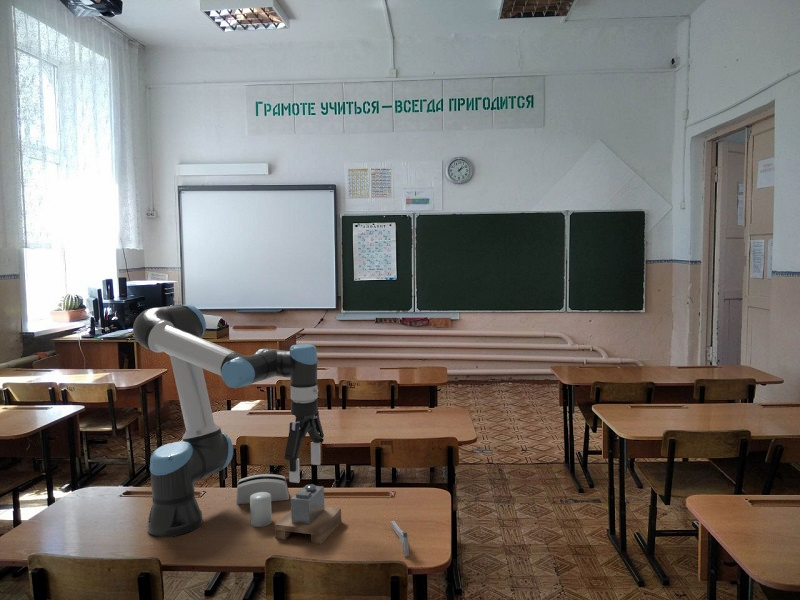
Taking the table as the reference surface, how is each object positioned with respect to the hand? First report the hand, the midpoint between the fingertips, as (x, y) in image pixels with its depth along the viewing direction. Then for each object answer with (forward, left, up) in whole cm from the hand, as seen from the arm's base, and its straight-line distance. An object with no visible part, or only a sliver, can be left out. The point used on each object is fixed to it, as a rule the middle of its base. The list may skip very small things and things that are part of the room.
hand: (305, 472), depth 170 cm
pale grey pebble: (-16, +1, -17) cm, 23 cm away
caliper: (+27, +1, -17) cm, 32 cm away
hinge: (-23, +15, -17) cm, 32 cm away
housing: (0, 0, -13) cm, 13 cm away
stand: (0, 0, -17) cm, 17 cm away
